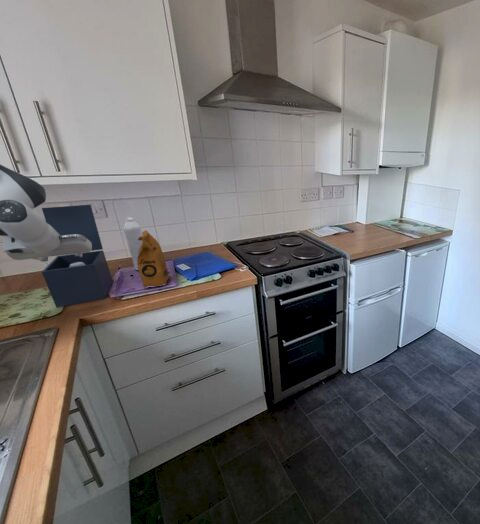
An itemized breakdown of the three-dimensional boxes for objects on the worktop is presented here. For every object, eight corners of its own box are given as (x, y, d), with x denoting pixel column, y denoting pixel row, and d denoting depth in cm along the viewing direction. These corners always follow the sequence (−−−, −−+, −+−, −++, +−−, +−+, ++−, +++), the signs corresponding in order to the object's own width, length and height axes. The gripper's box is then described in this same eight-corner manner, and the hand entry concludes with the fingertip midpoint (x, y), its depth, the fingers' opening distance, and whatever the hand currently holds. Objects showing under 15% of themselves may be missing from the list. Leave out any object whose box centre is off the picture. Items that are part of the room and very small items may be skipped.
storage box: (105, 298, 116) (94, 264, 111) (56, 307, 109) (41, 271, 104) (113, 281, 130) (103, 250, 125) (69, 288, 124) (57, 256, 118)
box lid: (90, 204, 120) (93, 204, 124) (41, 208, 113) (46, 207, 117) (102, 249, 124) (104, 248, 128) (56, 255, 118) (60, 253, 121)
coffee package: (139, 290, 122) (124, 239, 114) (146, 278, 133) (133, 230, 124) (167, 287, 125) (154, 236, 117) (172, 275, 136) (160, 228, 128)
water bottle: (134, 268, 143) (119, 217, 134) (149, 264, 147) (136, 214, 138) (137, 273, 137) (121, 220, 128) (153, 270, 141) (139, 218, 132)
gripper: (82, 226, 99) (99, 245, 111) (-3, 233, 91) (25, 253, 103) (82, 243, 97) (99, 260, 109) (-5, 252, 89) (24, 270, 101)
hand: (62, 257), depth 106 cm, fingers open, 8 cm apart
